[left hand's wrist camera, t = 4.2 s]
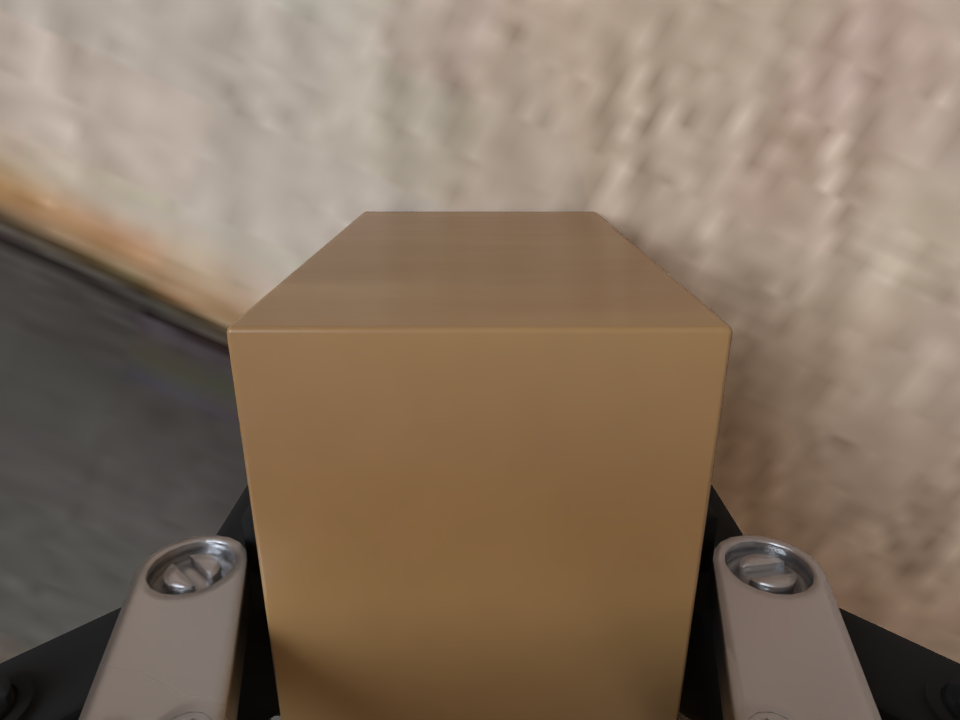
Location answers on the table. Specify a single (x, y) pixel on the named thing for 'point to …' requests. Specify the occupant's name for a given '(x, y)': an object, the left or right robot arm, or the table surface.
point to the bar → (479, 469)
